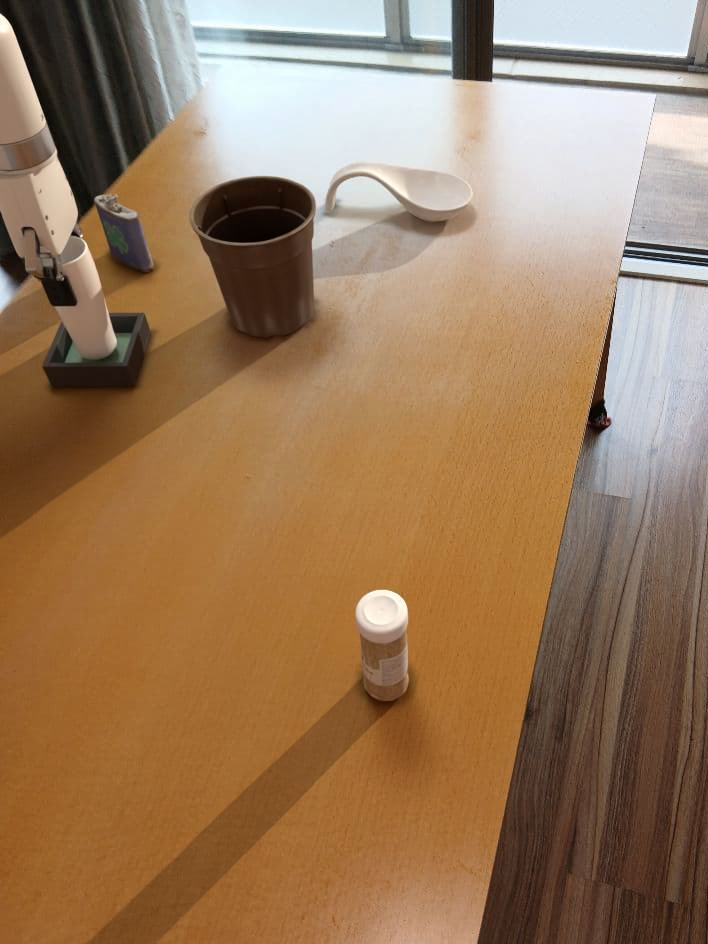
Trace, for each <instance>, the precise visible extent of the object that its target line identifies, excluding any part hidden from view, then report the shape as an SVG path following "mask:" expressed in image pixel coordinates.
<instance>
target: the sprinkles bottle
mask: <svg viewBox="0 0 708 944" xmlns="http://www.w3.org/2000/svg"><path fill="white" fill-rule="evenodd" d="M354 613H355V625H356V628H357V630H358V633H359V638H360V639H359V640H360V642H359V643H360V644H359V645H360V653H361V663H362V671H363V679H362V681H363V687H364V689H365V691H366V692H367V694H368V695H369V696H371V697H372V698H373V699H375V700H376V701H381V702H392V701H395V700H397V699H399V698H401V697H402V696H403V695H404V694H405V692H407V689H408V688H409V687H408V686H409V684H410V683H409V682H410V678H409V672H408V668H409V656H408V655H409V654H408V649H409V648H408V635H407V627H408V624H409V611H408V606H407V603H406V602H405V600H404V598H403V597H402V596H400V594H398V593H396V592H394V591H391V590H388V589H377V590H372V591H370V592H368V593H366V594H364V596H362V597H361V599H360V600H359V601H358V603H357V604H356V607H355V612H354Z"/></svg>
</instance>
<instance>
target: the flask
mask: <svg viewBox="0 0 708 944" xmlns="http://www.w3.org/2000/svg"><path fill="white" fill-rule="evenodd" d="M113 194H114V196H112V194H100V195H99V194H98V195H97V196H95V198H93V202H94V206H95V209H96V211H97V214H98V217H99V220H100V223H101V226H102V229H103V233H104V236H105V239H106V242H107V245H108V248H109V253H110V255H111V257H112V258H114V260H116V261H117V262H118V263H119V264H122V265H125V266H126V267H128V268H130V269H133V270H135V271H137V272H141V273H149V272H151V271H152V270H153V269H155V267H154V266H155V264H154V261H153V259H152V255H151V251H150V249H149V246H148V243H147V238H146V236H145V232H144V228H143V226H142V225H143V224H142V223H141V219H140V214H139V213H138V211H136V210H133V209H131V208H128V207H126V206H123V205H122V204H120V203H119V200H118V199H119V196H118V194H117V193H113Z"/></svg>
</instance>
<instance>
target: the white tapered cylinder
mask: <svg viewBox="0 0 708 944" xmlns="http://www.w3.org/2000/svg"><path fill="white" fill-rule="evenodd" d="M83 239H84V238H79V237H76V236H70V237H69V239H68V241H67V243H66V245H65V247H64V249H63V251H62V253H61V254H60V259H61V265H62V270H63V275H65V276H68V279H69V281H70V284H71V286H72V289H73V291H74V294H75V296H76V299H77V301H78V303H77V305H76V306H53V307H54V310H55V311H56V313H57V315H58V317H59V318H60V321H62V322H63V324H64V326H65V328H66V330H67V331H68V333H69V335H70V337H71V339H72V341H73V343H74V345H75V347H76V350H77V352H78V353H79V355H80V356H82V357H83V358H85V359H89V360H98V359H103V358H105V357H107V356H109V355H111V354H112V353H113V352H114V351H115V349H116V347H117V339H116V336H115V333H114V331H113V327H112V324H111V320H110V316H109V313H110V312H109V309H108V305H107V302H106V298H105V295H104V289H103V287H102V282H101V278H100V276H99V272H98V269H97V265H96V264H95V260H94V258H93V255H92V253H91V251H90V249H89V246H88V244H87V242H86V240H85V239H84V240H83ZM40 252H50V250H46V249H45V248H44V247H40ZM42 263H43V265H44V266H45V267H50V268H52V269H54V268H53V263H52V258H42Z"/></svg>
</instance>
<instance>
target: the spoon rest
mask: <svg viewBox="0 0 708 944" xmlns="http://www.w3.org/2000/svg"><path fill="white" fill-rule="evenodd" d="M358 177H365V178H369V179H372V180H374V181H376V182H377V183H379V184H381V186H383V187H384V188H385V189H386V190H387V191H388V192H390V194H391V195H392V196H393V197H394V198H395V199H396V200H397V202H398V203H400V205H401V206H402V207H403V208H404V209H405V210H406V211H407V212H409V214H411V215H412V216H414V217H416V218H418V219H419V220H422V221H424V222H427V223H428V222H429V223H438V222H442V221H448V220H450V219H453V218H455V217H457V216H458V215H460V214H461V213H463V212H464V211H465V210H466V209H467V208H468V207H469V205H470V204H471V202H472V201H473V196H474V193H473V189H472V187H471V185H470V184H469V183H468V182H467V181H465V180H464V179H463V178H461V177H459V176H457V175H454V174H451V173H448V172H445V171H439V170H433V169H424V168H417V167H410V166H403V165H397V164H390V163H384V162H378V161H358V162H352V163H350V164H347V165H345V166H343V167H341V168H339V169H338V170H337V171H336V172H335V174H334V175H333V176H332V178H331V180H330V183H329V187H328V189H327V192H326V195H325V203H324V210H325V211H324V212H325V213H327V214H329V213H331V212H332V211H333V210H334V208H335V204H336V200H337V191H338V188H339V187H340V185H341V184H342V183H344V182H345V181H346V182H347V180H350V179H353V178H358Z"/></svg>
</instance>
